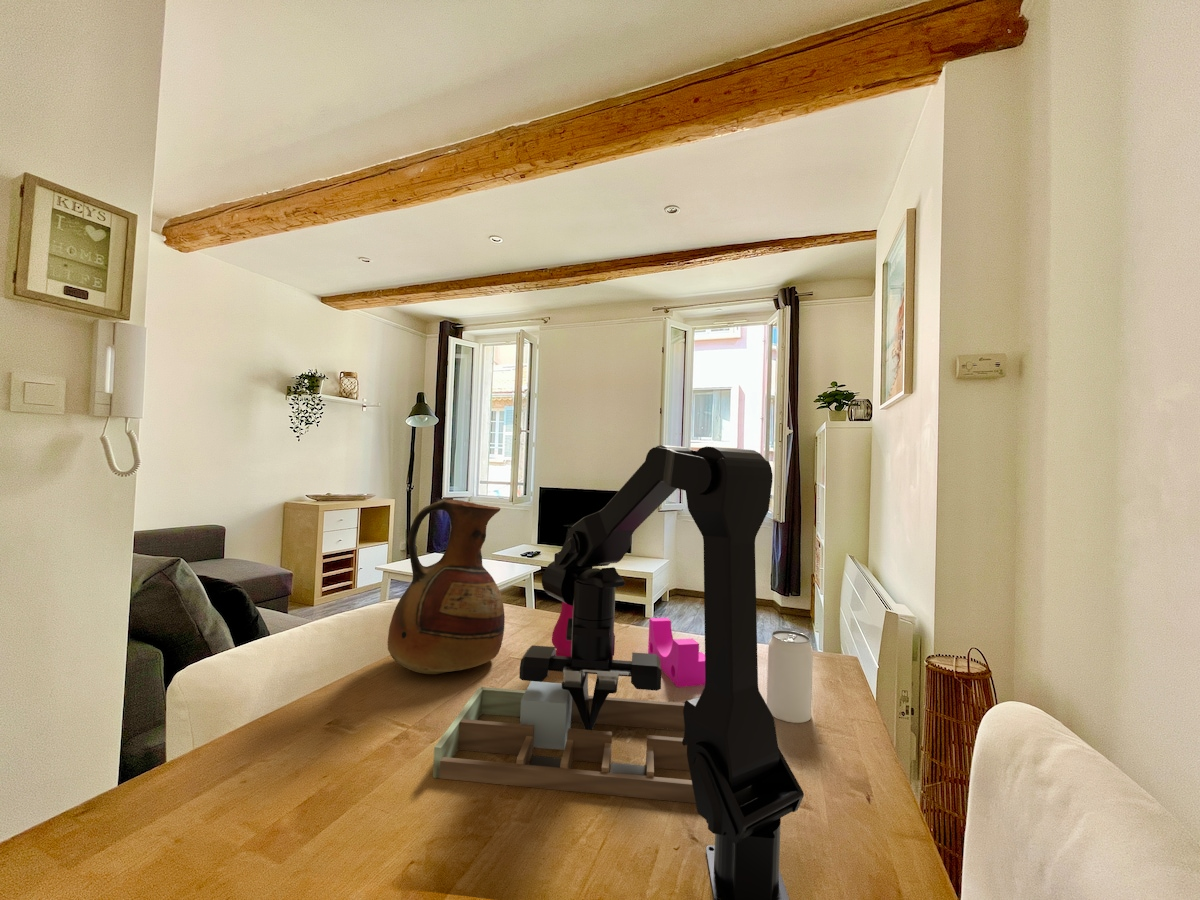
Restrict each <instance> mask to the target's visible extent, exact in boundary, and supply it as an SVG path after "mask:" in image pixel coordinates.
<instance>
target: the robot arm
mask: <svg viewBox="0 0 1200 900" xmlns="http://www.w3.org/2000/svg"><path fill="white" fill-rule="evenodd" d="M773 479H774V477H773V470H772V466H771V464H770V461H769V460H767V459H766V458H765V457H764V456H763V455H762V454H761V453H759V452H757V451H756V450H754V449H753V450H752V449H742V448H731V447H717V446H707V445H706V446H704V447H703V446H702V447H701V448H699V449H697V450H696V449H695V450H694V449H689V448H688V447H685V446H678V445H664V444H662V445H661V444H659V445H656V446H655V447H652V448H651V449H649V450H648V452H647V453H646V457H645V460H644V462H643V463H642V464H641V465H640V466H639V467H638V468H637V469H636V471H635V472H634V473H633V474H632V475H631V477H630V478H629V479H628V480H627V481H626V482H625V483H624V485H622V487H620V488H619V490H618V491H617V492H616V494H615V495H613V497H612V498H611V499H610V500H609V501H608V502H607V504H606V505H605V506H604V507H603V508H602V509H600V510H598V511H596V512H593V513H591V514H588V515H586V516H584V517H582V518H581V519H579V520H578V521H577V522H575V523H574V524H573V525H572V526H571V527H570V530H569V531H568V535H567V537H566V539H565V541H564V543H563V545H562V547H561V549H560V551H559V552H555V553H554V558H553V559H554V560H553V561H551V563H549V564H548V565H547V567H546V568H545V570H544V571H543V574H542V575H541V585H542V588H543V591H544V592H545V593H546V594H547V595H548V596H551V597H553V598H554V599H556V600H558V601H560V602H561V603H562V602H564V603H566V604H569V605H572V606H573V618H568V624H567V633H566V640H568V641H572V644H571V657H566V656H556V650H557V649H556V648H555V647H554V646H545V645H531V646H530V647H529V648H528V649H527V650H526V651H525V653H524V654H523V656H522V658H521V659H520V665H519V674H518V675H519V679H520V680H521V681H526V682H531V681H537V682H544V680H545V679H546V678H547V677H548V676H549V673H550V671H551V672H562V676H563V680H562V689H564V690H568V691H569V692H570V694H571V696H572V698H573V700H574V702H575V704H576V706H577V708H578V711H579V714H580V717H581V720H582V722H581V723H582V725H583V728H584V730H593V729H594V728H595V727H594V726H595V724H596V723H595V722H596V719H597V716H598V714H599V711H600V709H601V707H602V705H603V703H604V701H605V700H606V698H607V697H609V694H616V693H617V692H618V685H619V679H620V678H619V677H630V683H631V684H632V686H633V687H635V689H636V690H644V691H659V690H661V689H662V669H661V662H660V658H659V657H658V656H657V654H648V652H646V653H645V652H633V651H632V654H631V660H620V659H619V660H618V659H614V658H613V657H614V656H615V649H616V646H615V645H616V644H615V642H616V635H615V611H616V610H615V609H616V608H615V607H616V588H621V587H625V585H626V582H625V580H624V578H623V576H621V575H620V574H619V573H618V571H617V569H616V567H614V566H612V567H608V566H609V565H611V564H618V563H619V562H620V561H621V560H622V559H623V558H624V556H625V555H626V554H627V553H628V550H629V549H630V548H631V547H632V543H633V540H632V539H633V538H632V535H634V532H635V531H636V530H637V529H638V528H639V527H640V526H641V525H642V524H643V523H644V522H645V521H646V520H647V519H648V518H649V517H650V516H651V515H652V514H653V513H654V512H655V511H656V510H657V509H658V508H659V507H660V506H661V505H662V504H663V503H664V502H665V501H666V500H667V499H668V498H669V497H670V496H672V494H673V493H674V492H675V491H676V490H678V489H679V490H682V491H685V495H686V496H685V497H686V503H687V510H688V512H689V514H690V516H691V517H692V519H693V522H694V523H695V525H696V526H697V529H698V531H699V532H700V534H701V535H702V539H703V540H702V541H703V593H704V594H703V595H704V596H703V599H704V601H703V608H704V610H703V611H704V614H703V615H704V654H705V685H704V686H703V690H702V691H701V694H700V695H699V696H698V697H697V696H696V697H695V698H691V699H688V700H686V701H685V702H684V703H685V704H684V709H683V715H684V724H685V731H683V732H684V734H683V735H684V736H683V737H682V738H683V741H682V744H683V745H684V746H685V745H687V759H688V764H689V769H690V771H689V773H690V778H691V779H690V780H692V785H693V790H694V796H695V801H696V803H695V807H696V811H697V813H698V815H700V816H701V817H702V818H703V819H704V820H705V821H706V824H707V830H708V831H710V832H711V833H712V834H714V845H712V844H708V845H706V847H705V855H706V861H707V867H708V873H709V878H710V886H711V892H712V897H713V900H790V898H789V895H788V891H787V888H786V886H785V882H784V879H783V877H782V873H781V871H780V855H781V854H780V853H781V852H780V851H781V822H782V821H781V818H783V817H785V816H787V815H788V814H790V813H795V812H796V811H798V810H799V808H800V805H801V803H802V801H803V799H804V796H805V794H804V791H803V789H802V787H801V785H800V784H799V781H798V780H797V778H796V776H795V775H794V773H793V771H792V769H791V767H790V766H789V764H788V762H787V760H786V758H785V756H784V755H783V753H782V751H781V749H780V747H779V741H778V736H777V731H776V723H775V717H774V716H773V715H772V713H771V711H770V710H769V708H768V706H767V702H766V700H765V699H764V698H763V695H762V694H761V692H760V690H759V679H758V678H759V674H758V672H759V671H758V670H759V669H758V666H759V665H758V632H757V631H758V630H757V629H758V628H757V627H758V624H757V622H758V621H757V618H758V617H757V616H758V615H757V580H756V578H757V577H756V576H757V575H756V574H757V573H756V537H757V535H758V533H759V531H760V529H761V526H762V525H763V522H765V521H764V520H765V518H766V517H767V515H768V512H769V509H770V504H771V494H772V488H773V487H772V486H773ZM606 566H607V567H606ZM597 567H598V568H597ZM599 567H604V568H599ZM589 674H591V675H596V680H595V685H594V689H593V695H592V696H593V701H592V707H591V713H590V710H589V696H590V695H589Z"/></svg>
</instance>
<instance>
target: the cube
mask: <svg viewBox="0 0 1200 900" xmlns="http://www.w3.org/2000/svg"><path fill="white" fill-rule="evenodd" d="M528 684H529V685H528V687H527V688H526V690H525V691H526V692H525V694H524V695H523V697H522V699H521V712H520V717H519V718H520V719H519V724H526V725H534V746H533V748H538V749H548V750H561V751H564V749H565V745H566V742H567V731H568V728H571V727H572V721H571V710H572V696H571V694H570V692H569V691H568V690H564V689H562V683H561V682H547V681H542V682H537V681H529V683H528Z"/></svg>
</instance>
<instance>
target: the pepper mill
mask: <svg viewBox="0 0 1200 900" xmlns="http://www.w3.org/2000/svg"><path fill="white" fill-rule="evenodd" d="M560 608H561V611H560V614H559V617H558V619H557V622H556V623H555V625H554V626H553V627H554V628H553V631H552V633H551V643H552V645H553V647H555V649H556V656H566V657H571V644H572V641H568V640H566V633H567V624H568V618H573V606H572V605H569V604H566V603H564V602H562V601H561V607H560Z"/></svg>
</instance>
